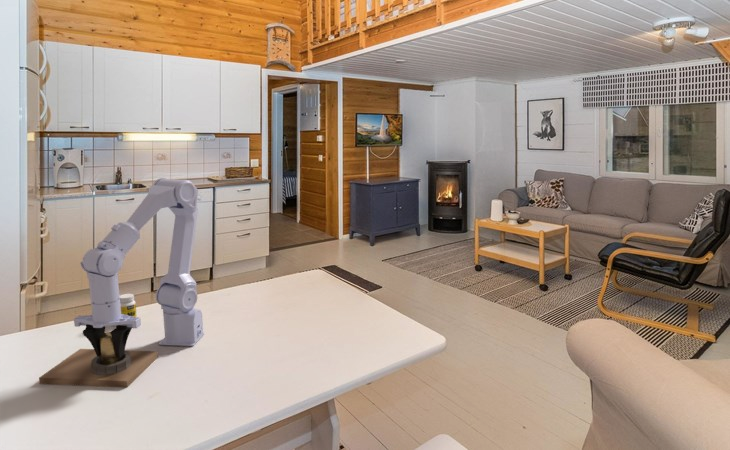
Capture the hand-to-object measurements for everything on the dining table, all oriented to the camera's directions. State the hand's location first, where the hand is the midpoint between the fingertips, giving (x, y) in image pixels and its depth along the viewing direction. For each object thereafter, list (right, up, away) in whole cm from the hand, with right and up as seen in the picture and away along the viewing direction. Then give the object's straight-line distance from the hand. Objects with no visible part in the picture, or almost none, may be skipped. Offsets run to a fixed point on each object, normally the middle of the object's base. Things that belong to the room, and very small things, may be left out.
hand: (110, 354), depth 105 cm
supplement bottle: (-11, +1, +29) cm, 31 cm away
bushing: (0, -2, 0) cm, 2 cm away
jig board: (-3, -4, +2) cm, 5 cm away
